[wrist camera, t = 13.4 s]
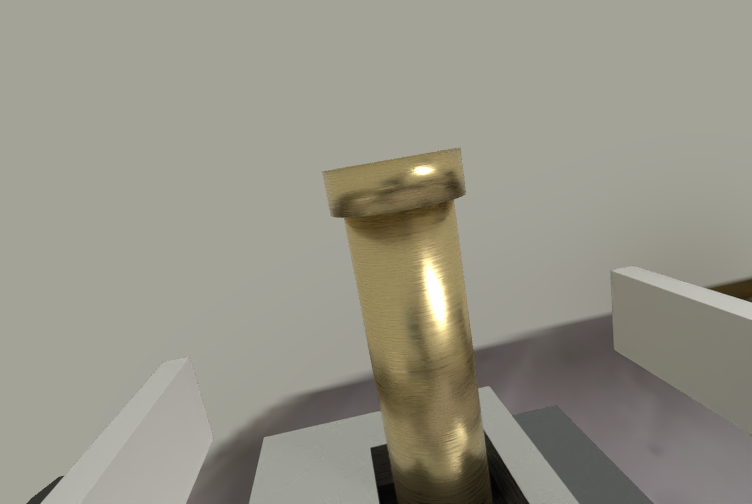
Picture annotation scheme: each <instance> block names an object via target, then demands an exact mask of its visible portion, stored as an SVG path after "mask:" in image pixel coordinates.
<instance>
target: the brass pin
mask: <svg viewBox="0 0 752 504" xmlns="http://www.w3.org/2000/svg"><path fill="white" fill-rule="evenodd" d="M322 173H323V178H324V183H325V188H326V193H327V198H328V204H329V209H330V213H331V216H332V217H340V218H341V217H342V218H344V220H345V226H346V231H347V236H348V242H349V247H350V252H351V257H352V263H353V268H354V274H355V279H356V284H357V289H358V295H359V300H360V305H361V311H362V316H363V321H364V326H365V332H366V337H367V342H368V347H369V353H370V358H371V363H372V369H373V374H374V379H375V385H376V390H377V395H378V400H379V406H380V411H381V416H382V422H383V427H384V432H385V437H386V443H387V448H388V453H389V459H390V464H391V469H392V475H393V480H394V485H395V490H396V496H397V501H398V504H493V500H492V492H491V485H490V477H489V469H488V461H487V454H486V446H485V438H484V430H483V422H482V415H481V407H480V399H479V391H478V383H477V376H476V368H475V360H474V352H473V345H472V337H471V329H470V322H469V314H468V306H467V298H466V290H465V283H464V275H463V267H462V259H461V251H460V243H459V236H458V228H457V220H456V213H455V205H454V199H456V198H459V197H461V196H463V195H465V194H466V189H465V181H464V173H463V164H462V156H461V148H454V149H448V150H442V151H437V152H431V153H426V154H420V155H414V156H408V157H402V158H397V159H391V160H385V161H379V162H374V163H368V164H362V165H357V166H351V167H345V168H340V169H334V170H328V171H323V172H322Z"/></svg>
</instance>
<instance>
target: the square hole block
mask: <svg viewBox="0 0 752 504" xmlns="http://www.w3.org/2000/svg"><path fill="white" fill-rule="evenodd" d="M478 391H479V399H480V407H481V415H482V422H483V430H484V438H485V446H486V454H487V461H488V469H489V477H490V485H491V492H492V500H493V504H654V503H653V502H652V501H651V500H650V499H649V498H648V497H647V496H646V495H645V494H644V493H643V492H642V491H641V490H640V489H639V488H638V487H637V486H636V485H635V484H634V483H633V482H632V481H631V480H630V479H629V478H628V477H627V476H626V475H625V474H624V473H623V472H622V471H621V470H620V469H619V468H618V467H617V466H616V465H615V464H614V463H613V462H612V461H611V460H610V459H609V458H608V457H607V456H606V455H605V454H604V453H603V452H602V451H601V450H600V449H599V448H598V447H597V446H596V445H595V444H594V443H593V442H592V441H591V440H590V439H589V438H588V437H587V436H586V435H585V434H584V433H583V432H582V431H581V430H580V429H579V428H578V427H577V426H576V425H575V424H574V423H573V422H572V421H571V420H570V419H569V418H568V417H567V416H566V415H565V414H564V412H563V411H562V410H561V409H560V408H559V407H558V406H557V405H555V406H551V407H547V408H543V409H539V410H534V411H530V412H526V413H522V414H517V415H513V416H512V415H511V414H510V413H509V411H508V410H507V409H506V407H505V406H504V405H503V403H502V402H501V401H500V399H499V398H498V397H497V396H496V394H495V393H494V392H493V390H492V389H491V388H490V386H487V387H483V388H478ZM249 504H398V501H397V496H396V490H395V485H394V480H393V475H392V469H391V464H390V459H389V453H388V448H387V443H386V437H385V432H384V427H383V422H382V416H381V411H377V412H373V413H369V414H364V415H360V416H356V417H351V418H347V419H342V420H338V421H334V422H329V423H325V424H320V425H316V426H312V427H307V428H303V429H299V430H294V431H290V432H285V433H281V434H277V435H272V436H268V437H264V440H263V444H262V448H261V453H260V457H259V462H258V466H257V470H256V475H255V479H254V483H253V488H252V492H251V496H250V501H249Z"/></svg>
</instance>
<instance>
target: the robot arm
mask: <svg viewBox="0 0 752 504" xmlns="http://www.w3.org/2000/svg"><path fill="white" fill-rule="evenodd" d="M610 273H611V294H612V316H613V337H614V350H615V351H617V352H619V353H620V354H622V355H623V356H625V357H627V358H628V359H630V360H631V361H633V362H635V363H636V364H638V365H639V366H641V367H643V368H644V369H646V370H647V371H649V372H651V373H652V374H654V375H655V376H657V377H659V378H660V379H662V380H663V381H665V382H667V383H668V384H670V385H671V386H673V387H675V388H676V389H678V390H679V391H681V392H683V393H684V394H686V395H688V396H689V397H691V398H692V399H694V400H696V401H697V402H699V403H700V404H702V405H704V406H705V407H707V408H708V409H710V410H712V411H713V412H715V413H716V414H718V415H720V416H721V417H723V418H724V419H726V420H728V421H729V422H731V423H732V424H734V425H736V426H737V427H739V428H740V429H742V430H744V431H745V432H747V433H748V434H750V435H752V303H751V302H748V301H745V300H741V299H738V298H735V297H732V296H729V295H725V294H722V293H719V292H716V291H712V290H709V289H706V288H703V287H700V286H696V285H693V284H690V283H687V282H683V281H680V280H677V279H673V278H670V277H667V276H664V275H661V274H657V273H654V272H651V271H648V270H644V269H641V268H638V267H635V266H630V267H624V268H620V269H615V270H611V271H610ZM213 439H214V438H213V434H212V431H211V427H210V424H209V420H208V417H207V413H206V410H205V406H204V403H203V400H202V396H201V393H200V389H199V386H198V382H197V379H196V376H195V372H194V369H193V365H192V362H191V358H190V357H184V358H179V359H175V360H170V361H165V362H163V363H162V364H161V365H160V366H159V367H158V368H157V369H156V371H155V372H154V373H153V374H152V375H151V377H150V378H149V379H148V380H147V381H146V382H145V383H144V385H143V386H142V387H141V388H140V389H139V390H138V392H137V393H136V394H135V395H134V396H133V397H132V398H131V400H130V401H129V402H128V403H127V404H126V406H124V408H123V409H122V410H121V411H120V412H119V413H118V415H117V416H116V417H115V418H114V419H113V420H112V422H111V423H110V424H109V425H108V426H107V427H106V428H105V430H104V431H103V432H102V433H101V434H100V436H99V437H98V438H97V439H96V440H95V441H94V442H93V444H92V445H91V446H90V447H89V448H88V449H87V450H86V452H85V453H84V454H83V455H82V456H81V457H80V459H79V460H78V461H77V462H76V463H75V464H74V465H73V467H72V468H71V469H70V470H69V471H68V472H67V474H66V475H65V476H61V477H58V478H57V479H56V480H54V481H53V482H52V483H51V484H49V485H48V486H47V487H46V488H44V489H43V490H42V491H40V492H39V493H38V494H37V495H35V496H34V497H33V498H31V499H30V501H29V502H28V503H27V504H186V502H187V500H188V497H189V495H190V493H191V490H192V488H193V486H194V483H195V481H196V479H197V476H198V474H199V472H200V469H201V467H202V465H203V462H204V460H205V458H206V455H207V453H208V451H209V448H210V446H211V444H212V441H213Z"/></svg>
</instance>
